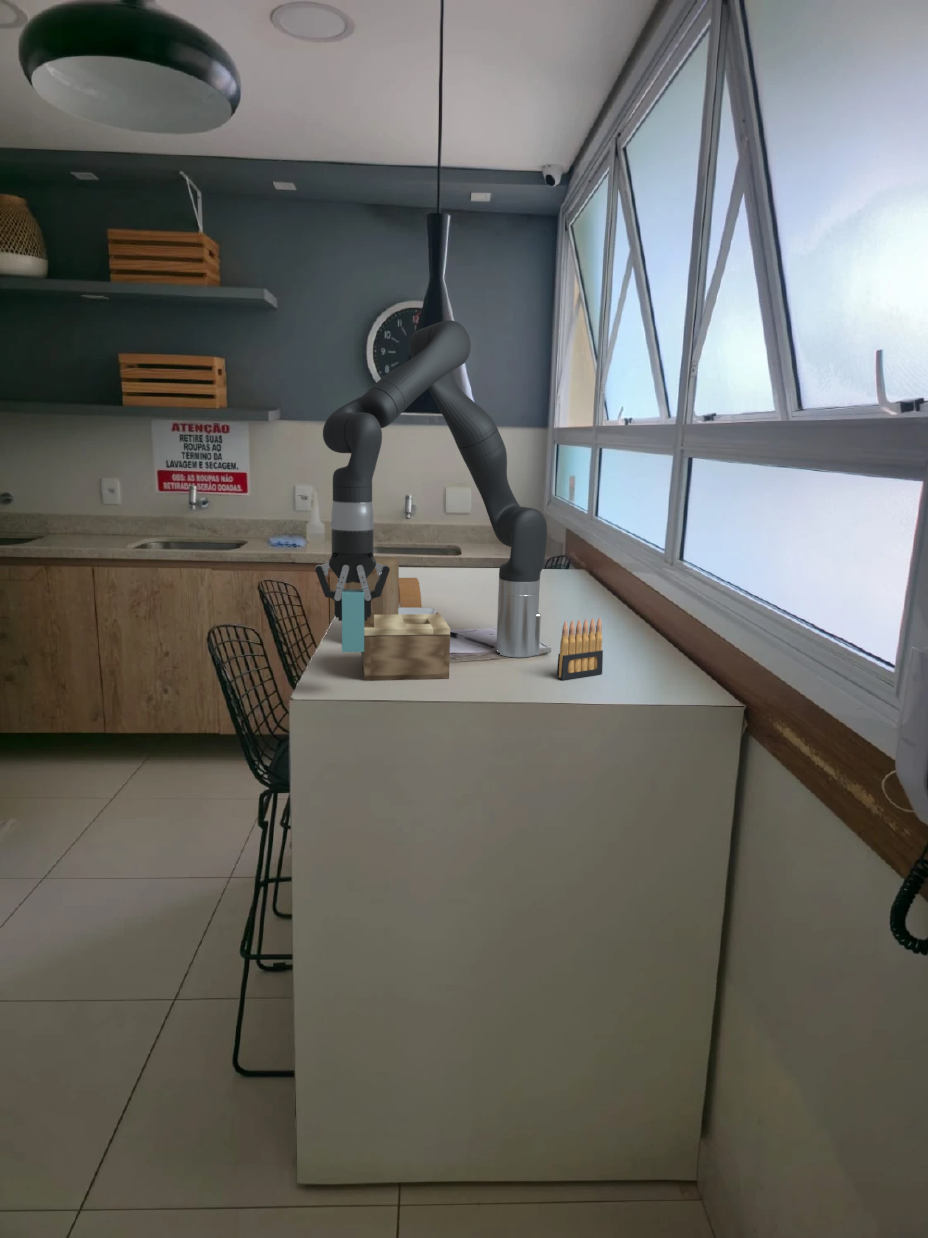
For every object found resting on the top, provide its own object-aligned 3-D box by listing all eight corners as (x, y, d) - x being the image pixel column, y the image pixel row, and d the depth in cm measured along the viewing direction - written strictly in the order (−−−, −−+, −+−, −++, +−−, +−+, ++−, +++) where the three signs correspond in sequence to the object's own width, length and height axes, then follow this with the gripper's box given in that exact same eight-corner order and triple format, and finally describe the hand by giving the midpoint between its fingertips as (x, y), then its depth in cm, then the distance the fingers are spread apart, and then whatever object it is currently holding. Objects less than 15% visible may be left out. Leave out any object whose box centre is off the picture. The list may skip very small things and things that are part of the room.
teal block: (363, 646, 151) (363, 589, 148) (364, 651, 147) (364, 593, 144) (341, 646, 150) (341, 589, 148) (342, 652, 146) (341, 593, 144)
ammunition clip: (561, 680, 162) (564, 622, 160) (556, 677, 164) (559, 620, 161) (602, 673, 168) (606, 618, 165) (596, 671, 169) (600, 616, 167)
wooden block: (387, 649, 183) (387, 563, 179) (345, 646, 185) (345, 560, 180) (399, 639, 192) (399, 557, 188) (359, 636, 194) (359, 555, 190)
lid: (440, 619, 173) (440, 600, 172) (450, 634, 159) (450, 613, 158) (361, 620, 170) (361, 600, 169) (364, 635, 156) (364, 614, 155)
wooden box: (439, 660, 174) (440, 620, 173) (449, 678, 161) (450, 635, 159) (361, 662, 172) (361, 621, 170) (364, 680, 158) (364, 636, 156)
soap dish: (438, 626, 208) (438, 607, 207) (437, 635, 199) (437, 615, 198) (390, 625, 208) (390, 606, 207) (387, 633, 199) (387, 614, 198)
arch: (400, 621, 213) (400, 584, 211) (392, 606, 232) (392, 572, 230) (421, 620, 214) (422, 584, 212) (412, 606, 233) (412, 572, 231)
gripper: (390, 525, 148) (389, 615, 152) (312, 524, 146) (313, 615, 149) (393, 529, 141) (392, 623, 145) (312, 528, 139) (313, 624, 142)
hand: (352, 619), depth 147 cm, fingers closed on teal block, 4 cm apart
